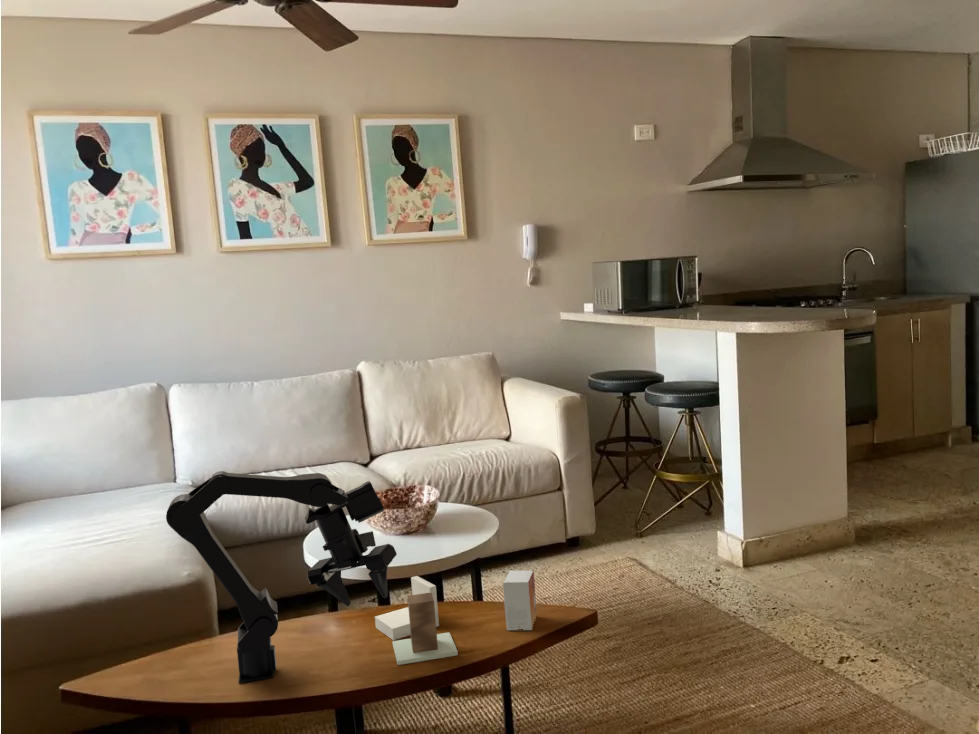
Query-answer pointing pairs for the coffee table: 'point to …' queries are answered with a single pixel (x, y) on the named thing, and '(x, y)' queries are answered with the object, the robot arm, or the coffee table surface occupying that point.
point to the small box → (520, 600)
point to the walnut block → (422, 622)
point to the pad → (407, 656)
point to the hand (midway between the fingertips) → (367, 601)
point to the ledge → (405, 612)
